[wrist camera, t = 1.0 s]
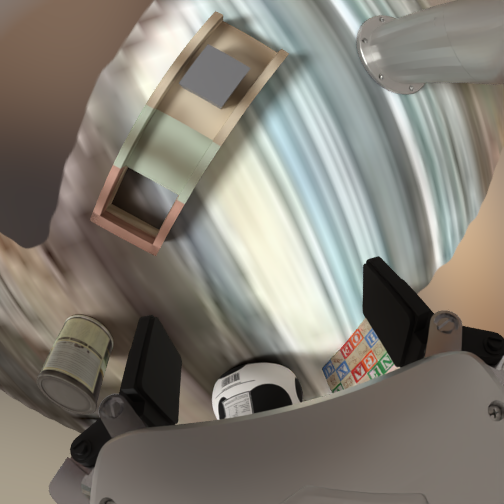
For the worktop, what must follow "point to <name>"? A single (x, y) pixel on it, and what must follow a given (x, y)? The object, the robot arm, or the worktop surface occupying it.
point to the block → (214, 76)
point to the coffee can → (77, 365)
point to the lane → (182, 130)
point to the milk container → (255, 390)
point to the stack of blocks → (358, 360)
